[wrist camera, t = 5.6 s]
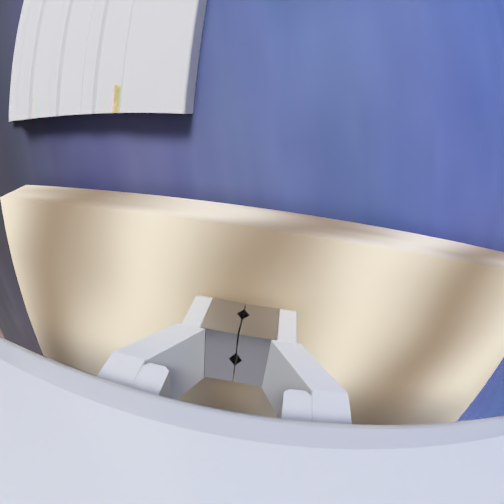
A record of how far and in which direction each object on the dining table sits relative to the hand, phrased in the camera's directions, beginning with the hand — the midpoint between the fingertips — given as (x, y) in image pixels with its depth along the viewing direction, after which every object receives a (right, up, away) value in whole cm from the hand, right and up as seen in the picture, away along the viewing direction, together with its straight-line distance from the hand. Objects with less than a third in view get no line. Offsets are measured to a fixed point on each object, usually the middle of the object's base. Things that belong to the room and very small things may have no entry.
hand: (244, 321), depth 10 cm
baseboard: (-5, +21, -6) cm, 22 cm away
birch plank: (+1, 0, +2) cm, 2 cm away
